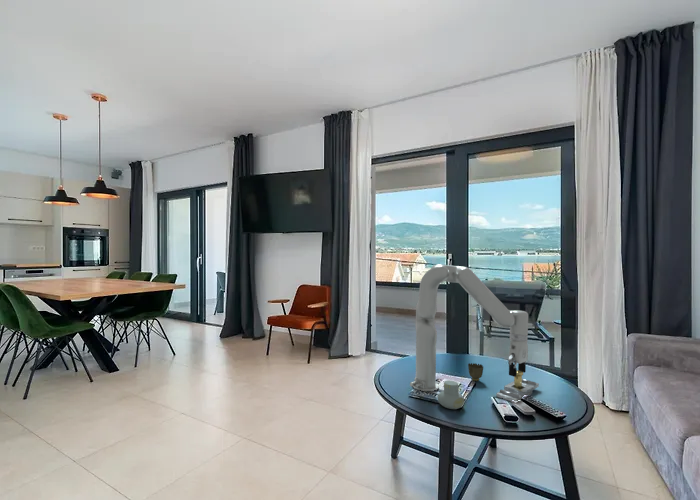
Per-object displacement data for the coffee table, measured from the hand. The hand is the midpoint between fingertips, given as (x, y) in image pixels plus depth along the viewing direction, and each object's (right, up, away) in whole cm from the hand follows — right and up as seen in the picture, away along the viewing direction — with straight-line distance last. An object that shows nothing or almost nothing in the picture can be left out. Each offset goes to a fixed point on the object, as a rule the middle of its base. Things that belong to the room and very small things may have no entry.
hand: (517, 373), depth 164 cm
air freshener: (-36, -9, -15) cm, 40 cm away
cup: (-14, -9, +15) cm, 23 cm away
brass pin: (0, -9, 0) cm, 9 cm away
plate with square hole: (0, -9, 0) cm, 9 cm away
